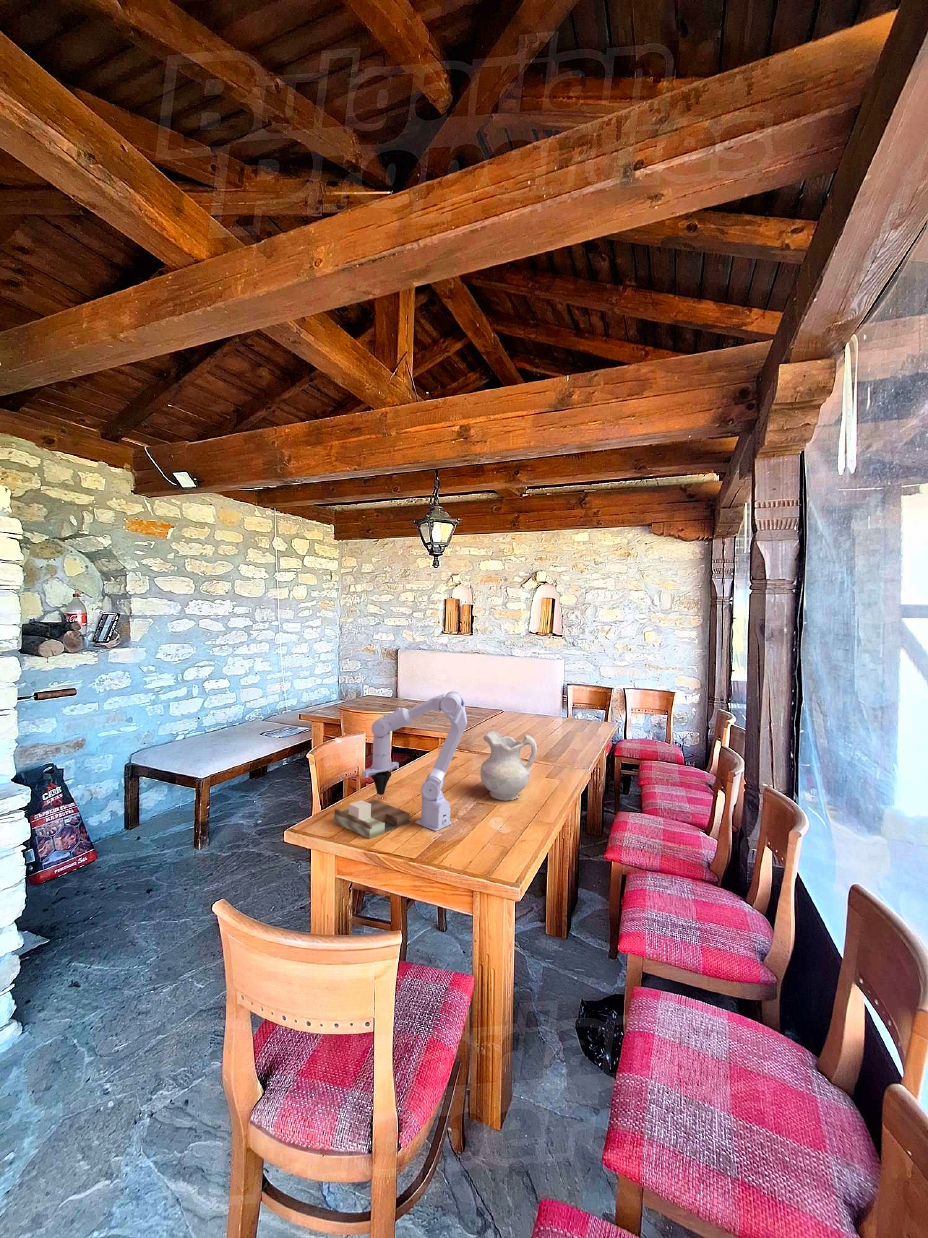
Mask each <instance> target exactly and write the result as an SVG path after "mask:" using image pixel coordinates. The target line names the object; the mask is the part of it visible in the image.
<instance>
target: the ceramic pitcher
mask: <svg viewBox="0 0 928 1238" xmlns="http://www.w3.org/2000/svg"><path fill="white" fill-rule="evenodd" d="M523 737H524V738H523V739H522V740H516V739H514V737H512V736H507V735H505V736H502V735H501V734H500V733H499V732H498V731H494V730H490V731H487V733H486V734H485V735H483V737H482V738H483V740H484V742H486V743H487V744H488V745H489V748H490V756H489V757H488V758H487V759H486V760H485V761H483V762H482V764H481V766H480V772H479V773H480V780H481V782H482V784H483V785H484V787H485V788H486V789H487V790H488V791H489V795H490V797H491V798H493V799H495V800H498V801H501V800H504V801H514V799H515V798H517V797H519V798H520V796H518V794H519V793H520V792H522V791H523V790H524V789H525V788H526V787H527V785H528V783H529V780H530V775H531V766H532V765H533V764H534V762H535V759H536V757H537V753H538V745H537V742H536V740H535V737H534V736H533V734H524V735H523ZM527 745H529V746H530V748H531V753H530V754H529V755H530V756H529V758H528V760H527V763H526V762H524V761H523V760H522V758H521V756H520V755H521V754H520V753H521V749H522V748H523V747H525V746H527ZM515 800H516V799H515ZM504 801H503V802H504Z"/></svg>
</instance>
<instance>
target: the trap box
mask: <svg viewBox="0 0 928 1238" xmlns="http://www.w3.org/2000/svg"><path fill="white" fill-rule="evenodd" d="M367 802H368V803H370V804H371V818H369V819H366V820H361V819H358V818H356V817H354V816H351V815H349V807H348V808H346V809H344V810H340V809H337V808H336V809H334V814H333V815H334V816H333V817H334V818H333V819H334V820H333V822H334V823H335V824H337V825H338V826H341V827H343V828H345V829H347V830H350V831H352V832H354V833H355V834H359V835H361V836H363V837H364V838H367V839H369V840H370V839H373V838H375V837H378V836H380V835H383V834H385V833H387V832H389V831H392V830H394V829H396V828H400V827H401V826H404V825H406V824H408V823H410V817H411V815H410V814H411V813H410V812H408V811H404V810H403V809H400V808H397V807H395V806H392V805H390V804H388V803H387V804H386V803H384V802H382V801H379V800H377V799H371V800H369V801H367Z"/></svg>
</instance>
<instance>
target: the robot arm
mask: <svg viewBox="0 0 928 1238" xmlns="http://www.w3.org/2000/svg"><path fill="white" fill-rule="evenodd" d="M431 711H435V712H439V713H440V712H443V713H444V714H445V716H447V718H448V720H449V722H450V724H451V726H450V728H449V731H448V733H447V735H446V738H445V740H444V743H443V744H442V746H441V750H440V751H439V754H438V756H437V758H436V760H435V763H434V765H433V767H432V769H431V771H430V773H428V774H427V776H426V779H425V781H424V782H423V783H422V785H421V787H420V792H421V809H420V810H421V812H420V819H418V820H416V821H415V824H417V825H419V826H422V827H425V828H427V829H430V830H432V831H435V832H437V831H439V830H441V829H444V828H445V827H448V826H449V825H451V824H452V821H451V804H450V802H449V801H448V800H447V799H446V798H445V796H444V793H443V790H442V788H444V787H443V786H444V784H445V776H446V773H447V771H448V768H449V766H450V764H451V761H452V759H453V757H454V754H455V752H456V750H457V747H458V745H459V743H460V741H461V738H462V736H463V734H464V731H465V729H466V727H467V725H468V718H467V714H466V704H465V701H464V698H463V697H462V695H461V694H460V693H459V692H457V691H449V692H447V693H442V694H439V695H436V696H434V697H431V698H430V699H427V700H426V701H423V702H422V703H419V704H418V705H416V706H414V707H412V708H405V707H402V708H401V707H398V708H396V709H395V711H393V712H391V713H385V714H383V716H382V717H379V718H378V719H376V720H375V721H373V723H372V725H371V733H372V735H373V739H372V764H371V766H370V767H367V768H366V769H365V770H362V771H361V772H362V773H361V777H362V778H365V779H368V778H369V777H371V779H372V780H373V783H374V787H375V790H376V793H377V795H380V796H383V795H385V792H386V789H387V788H386V787H387V785H388V782H389V780H390V778H391V776H392V772H391V770H395V769H399V768H400V767H399V765H400V764H399V762H398V761H390V760H391V732H394V731H396V730H399V729H401V728H403V727H405V726H408V725H410V724H411V723H412V720H413V719H414V718H417V717H419V716H421V715H423V714H425V713H429V712H431Z"/></svg>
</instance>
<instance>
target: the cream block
mask: <svg viewBox="0 0 928 1238" xmlns="http://www.w3.org/2000/svg"><path fill="white" fill-rule="evenodd" d="M368 802H369V801H364V800H362V799H360V800H357V801H354V802H351V803H349V804H348V808H349V815H351V816H354V817H356V818H358V819H361V820H366V819H369V818H371V804H370V803H368Z"/></svg>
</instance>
